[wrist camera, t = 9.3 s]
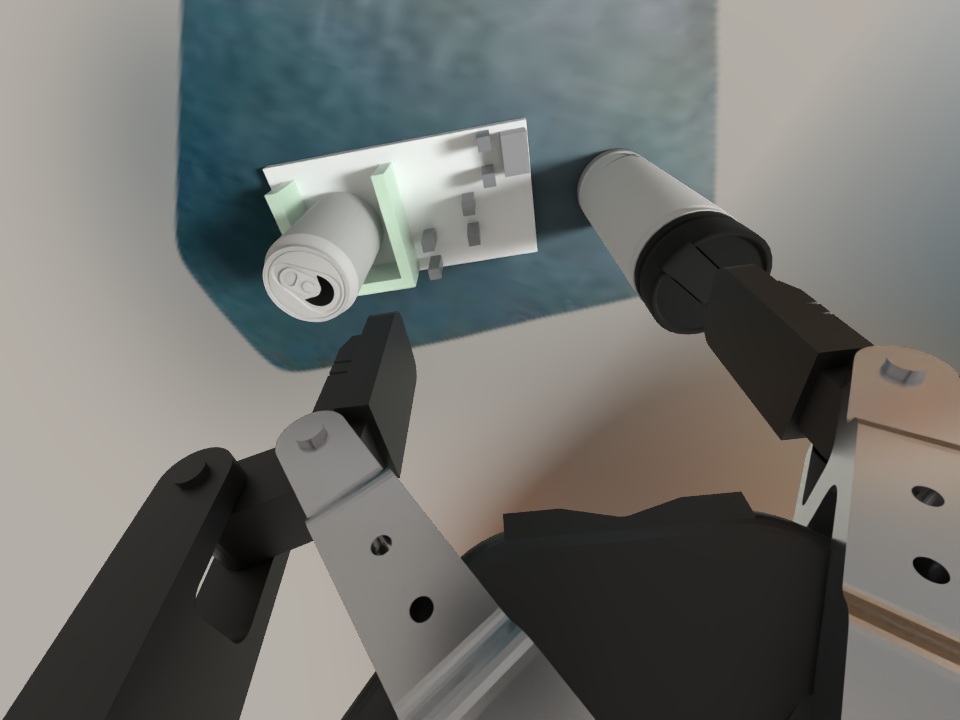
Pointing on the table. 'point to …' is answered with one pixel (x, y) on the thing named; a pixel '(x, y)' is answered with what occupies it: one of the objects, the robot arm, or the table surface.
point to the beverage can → (323, 258)
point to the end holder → (406, 267)
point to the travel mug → (664, 236)
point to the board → (438, 191)
